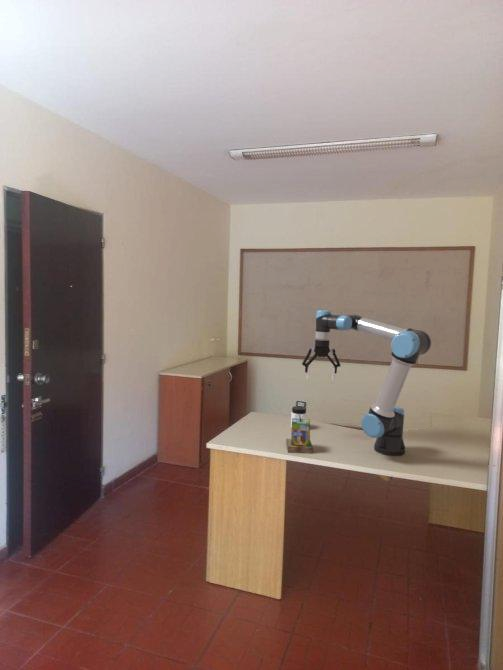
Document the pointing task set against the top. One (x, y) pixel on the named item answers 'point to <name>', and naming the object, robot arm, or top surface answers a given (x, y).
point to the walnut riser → (298, 448)
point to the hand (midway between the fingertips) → (320, 379)
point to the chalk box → (300, 432)
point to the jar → (296, 411)
